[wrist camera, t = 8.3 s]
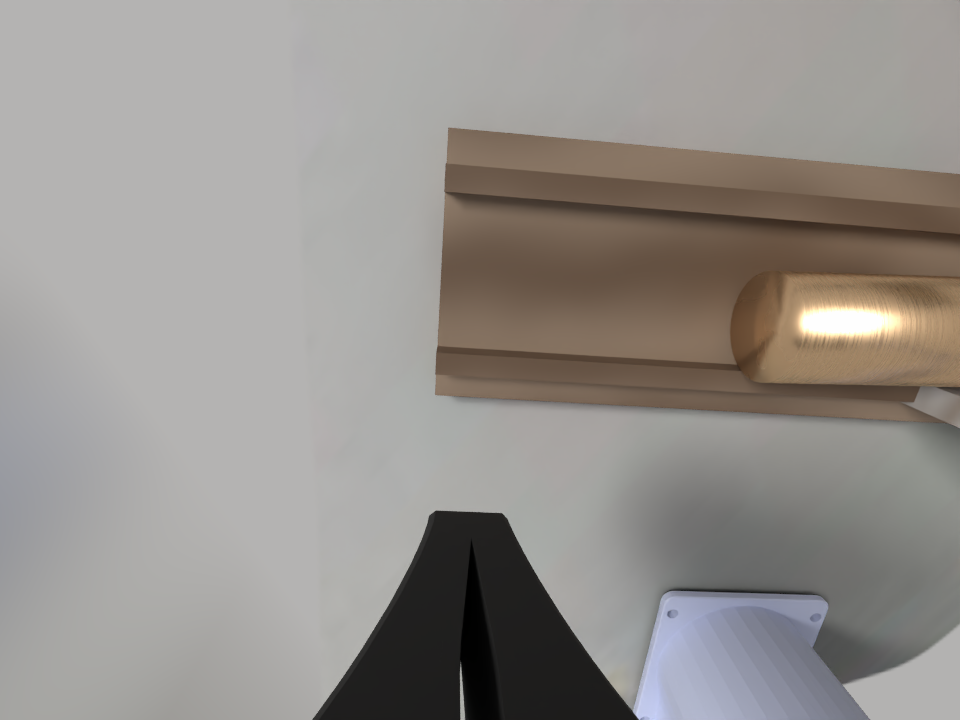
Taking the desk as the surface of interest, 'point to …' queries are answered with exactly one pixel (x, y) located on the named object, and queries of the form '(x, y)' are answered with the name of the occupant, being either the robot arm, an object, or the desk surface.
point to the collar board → (663, 269)
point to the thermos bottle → (848, 329)
